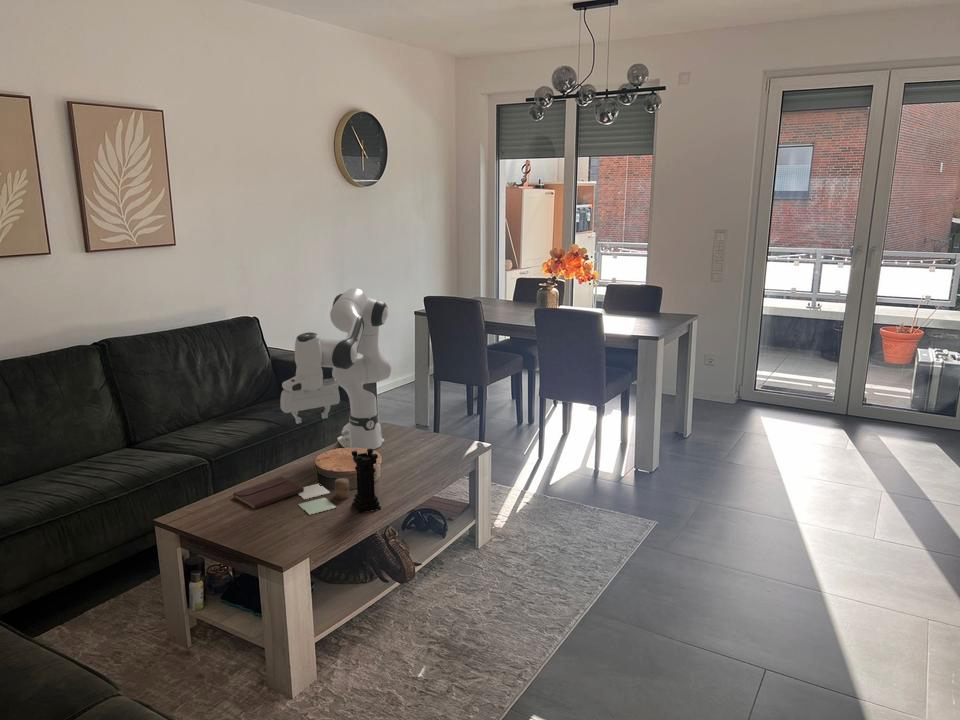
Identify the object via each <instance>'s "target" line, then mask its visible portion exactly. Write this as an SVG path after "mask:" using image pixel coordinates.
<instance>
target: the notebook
mask: <svg viewBox="0 0 960 720" xmlns="http://www.w3.org/2000/svg"><path fill="white" fill-rule="evenodd" d="M303 487H304V486H301V485H299V484H297V483H295V482H293V481H291V480H289V479H287V478H286V477H284V476H282V475H281V476H278V477H275V478H273V479H269V480H266V481H264V482H261V483H258V484H256V485H253V486H249V487H247V488H244V489H241V490H237V491H234V492H233V498H234V499H236V500H238V501H240V502H241V503H243V504H245V505H246V506H249V507H250V508H252V509H254V510H258V509H260V508H262V507H264V506H267V505H270V504H273V503H276V502H278V501H281V500H284V499H287V498H289V497H292V496H295V495H298V493H300V492H303V491H304V488H303Z"/></svg>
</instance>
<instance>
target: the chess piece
mask: <svg viewBox="0 0 960 720" xmlns="http://www.w3.org/2000/svg"><path fill="white" fill-rule="evenodd" d="M378 455H379V454H378V453H374V449H372V448H371V449H367V451H366V452H363V453H358V451H357V450H351V456H352V458H353V459H352V460H353V462H354V463H355V464H356V466H354V469H355V472H356V487H357V488H356V490H357V491H356V494H354V498H353V502H351V505H352V506H353V508H354V507H355V508H354V509H355V510H357V511H356V513H357V514H363V513H362V512H364V513H367V512H366V511H369V512H372V511H371V510H374V511H377V510H376V509H379V510H381V509H382V508H381V506H380V502H379V499H378V496H377V495H376V494H375V493H376V492H375V473H376V469H375V466H374V465H377V464H378V463H377V459H378V458H379V456H378Z"/></svg>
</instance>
